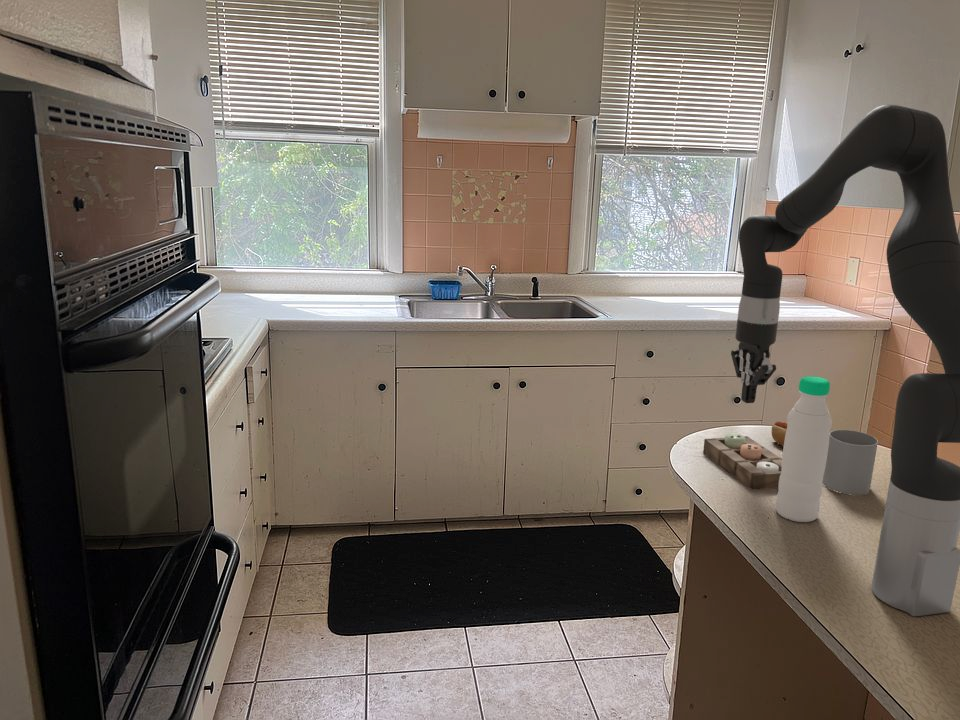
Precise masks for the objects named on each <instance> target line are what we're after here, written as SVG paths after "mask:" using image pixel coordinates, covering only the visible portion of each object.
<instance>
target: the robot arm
mask: <svg viewBox="0 0 960 720" xmlns="http://www.w3.org/2000/svg"><path fill="white" fill-rule="evenodd" d="M944 129H945V128H944V127H943V123H942V122H941V120H940V119H939V118H938V116H936V115H934V114H932V113H930V112H928V111H924V110H920V109H917V108H911V107H906V106H902V105H898V104H882V105H880V106H877V107H875V108H874V109H872V110H871V111H869V112H868V113H867V114H865V116H863V117H862V119H861V120H859V122H857V124H856V125H855V126H854V127H853V128H852V129H851V130H850V131H849V132H848V134H847V135H846V136H845V137H844V138H843V139H842V141H841V142H840V143H839V144H838V145H837V146H836V147H835V149H834V150H833V151H832V152H831V153H830V154H829V156H828V157H826V159H825V160H824V161H823V163H822V164H821V165H820V166H819V167H818V168H817V169H816V171H815V172H813V173H812V174H811V175H810V176H809V177H808V178H807V179H805V180H804V181H803V182H802V183H801V184H799V185H798V186H797V187H796V188H794V189H793V190H792V191H791V192H789V193H788V194H787V195H786V196H784V198H782V199H781V200H780V201H779V202H778V204H777V205H776V207H775V214H761V215H760V214H755V215H751V216H748V217H747V218H746V219H745V220H744V221H743V222H742V224H741V226H740V229H739V231H738V232H739V233H738V244H739V250H740V257H741V264H742V270H743V280H742V288H741V294H740V295H741V296H740V300H739V305H738V312H737V320H736V327H735V328H736V331H735V340H736V341H738V342H739V344H738V348H737V349H734V350H731V351H730V355H731V359H732V363H733V367H734V371H735V374H736V377H737V378H739V379H740V383H742V386H741V387H742V388H741V395H740V396H741V399H740V400H741V401H742V402H743V403H745V404H753V403H755V401H756V398H757V397H756V396H757V388H758V386H763V385H765V384H766V383H767V382H768V380H769V379H770V378H771V377H772V375H773V374H774V373H775V372H776V370H777V366H776V364H771V362H770V357H771V353H770V348H771V345H773V344H775V343H776V339H777V334H778V333H777V331H778V325H779V317H780V310H781V309H780V308H781V307H780V298H781V293H782V292H781V291H782V283H783V270H782V269H781V267H779V266H777V265H774V264H769V263H768V261H767V257H766V253H781V252H785V251H788V250H790V249H792V248H794V247H795V246H796V245H797V244H798V243H799V242H800V240H801V239H802V237H803V236H804V235H805V234H806V232H807V231H808V229H809V228H811V227H812V226H814V225H815V224H816V223H818V222H820V221H821V220H823V218H825V217H826V216H828V215H829V214H830V213H832V211H833V210H834V209H835V208H836V207H837V205H838V204H839V203H840V201H841V198H842V196H843V193H844V190H845V185H846V183H847V181H849V179H850V178H851V177H853V176H854V175H856V174H857V173H859V172H862V171H863V170H865V169H868V168H869V167H872V168H875V169H880V170H885V171H890V172H894V173H897V174H898V176H899V179H900V181H901V185H902V190H903V200H904V201H903V208H902V209H903V210H902V212H901V215H900V217H899V219H898V221H897V222H896V224H895V226H894V227H893V230H892V233H891V234H890V236H889V238H888V243H887V246H886V247H887V248H886V262H887V267H888V274H889V279H890V285H891V286H890V287H891V291H892V292H893V295H894V296H895V297H894V298H896V300H897V301H898V303H899V305H900V306H901V307H902V308H903V310H904V311H905V312H906V313H907V315H908V316H910V318H911V319H912V321H914V322H915V324H917V325H918V327H920V328H921V330H922V331H923V332H924V333H925V334H926V336H927V337H928V339H930V341H931V342H932V343H933V346H934V347H935V349H936V351H937V353H938V355H939V358H940V360H941V364H942V367H943V370H944V373H935V372H933V373H931V372H929V373H928V372H927V373H926V372H922V373H920V372H919V373H914V374H911V375H909V376H908V377H907V378H906V379H905V380H904V381H903V383H902V385H901V386H900V389H899V391H898V395H897V399H896V404H895V405H896V406H895V414H894V424H893V431H892V432H893V433H892V441H891V447H890V448H891V449H890V462H891V463H890V464H891V472H890V478H889V483H888V490H887V496H886V501H885V507H884V512H883V518H882V524H881V528H880V535H879V540H878V546H877V551H876V557H875V564H874V570H873V574H872V581H871V586H870V587H871V588H870V589H871V591H872V593H873V594H874V596H875V597H877V598H878V599H879V600H881V602H883V603H885V604H886V605H888V606H891V607H892V608H895V609H897V610H900V611H902V612H906V613H907V614H909V615H910V616H912V617H920V616H929V615H935V614H943V613H950V612H951V608H952V604H953V599H954V594H955V589H956V586H957V580H958V575H959V570H960V548H958V547H957V546H958V541H959V536H960V466H958V465H957V464H955V463H953V462H950V461H949V460H946V459H943V458H940V457H938V446H939V445H938V444H939V443H948V444H949V443H950V444H955V443H956V444H958V443H959V444H960V239H959V235H958V231H957V225H956V219H955V214H954V208H953V201H952V196H951V189H950V181H949V179H950V178H949V167H948V166H949V165H948V149H947V140H946V133H945V130H944Z"/></svg>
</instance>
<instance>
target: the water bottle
mask: <svg viewBox="0 0 960 720" xmlns="http://www.w3.org/2000/svg"><path fill="white" fill-rule="evenodd" d="M798 383H799V384H798V393H799V394H800V397H799V399H798V400H797V401H796V402H795V403H794V406H793V407H792V408H791V410H789V412H788V414H787V419H786V423H788V426H787V430H786V435H785V440H784V446H782V447H783V449H782V457H781V459H782V469H781V475H780V478H779V486H778V487H779V488H778V492H777V495H776V499H775V506H774V507H775V511H776V513H778V515H779V516H781V517H783V518H784V519H786V520H788V519H789V521H793V522H797V523H810V522H814V521H815V520H816V519H817V518H818V517H819V514H820V502H821V501H820V499H821V496H822V492H823V487H824V485H823V483H822V480H823V475H824V471H825V466H826V460H827V454H828V446H829V434H830V432H831V431H830V430H831V429H832V425H833V420H832V417H831V412H829V406H828V405H827V402H826V398H827V397H828V396H829V393H830V389H831V384H830V381H829V380H828V379H826V378H823V377H818V376H810V375H809V376H803V377H801V378H800V380H799V382H798Z"/></svg>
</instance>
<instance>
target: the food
mask: <svg viewBox="0 0 960 720" xmlns="http://www.w3.org/2000/svg"><path fill="white" fill-rule="evenodd" d="M787 426H788V423H787V422H785V421H776V422H775V423H774V424H772V426H771V437H772V439H773V441H774V442H775V443H777V444H778V445H780V446H782V447H784V440H785V435H786V430H787Z"/></svg>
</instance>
